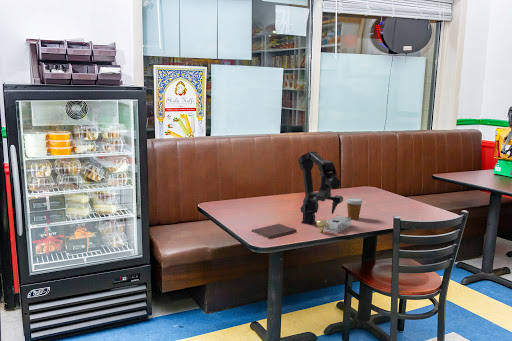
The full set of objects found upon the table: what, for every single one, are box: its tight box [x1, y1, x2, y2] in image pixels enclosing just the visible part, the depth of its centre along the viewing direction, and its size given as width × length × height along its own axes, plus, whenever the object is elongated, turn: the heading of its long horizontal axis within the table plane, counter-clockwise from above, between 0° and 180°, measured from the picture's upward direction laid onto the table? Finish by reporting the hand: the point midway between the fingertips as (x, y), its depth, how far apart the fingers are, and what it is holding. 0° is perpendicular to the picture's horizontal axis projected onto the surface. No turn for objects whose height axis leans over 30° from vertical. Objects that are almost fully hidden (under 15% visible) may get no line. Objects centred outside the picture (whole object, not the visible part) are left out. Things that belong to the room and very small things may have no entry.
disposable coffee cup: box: [345, 197, 363, 221], centre depth 290 cm, size 10×10×12 cm
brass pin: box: [316, 218, 327, 234], centre depth 263 cm, size 5×5×6 cm
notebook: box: [251, 223, 297, 239], centre depth 263 cm, size 15×20×2 cm
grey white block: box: [323, 215, 352, 234], centre depth 272 cm, size 8×18×4 cm, turn 146°
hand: (324, 212), depth 262 cm, fingers open, 9 cm apart
